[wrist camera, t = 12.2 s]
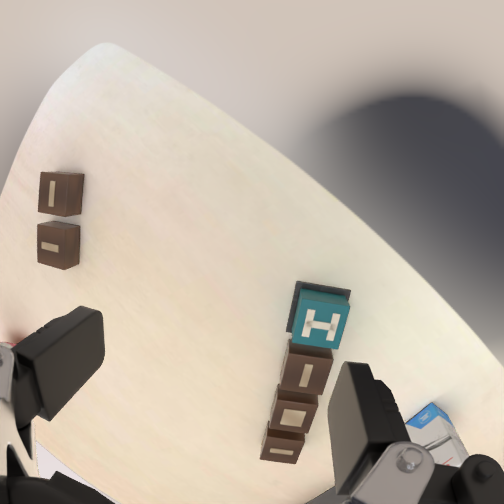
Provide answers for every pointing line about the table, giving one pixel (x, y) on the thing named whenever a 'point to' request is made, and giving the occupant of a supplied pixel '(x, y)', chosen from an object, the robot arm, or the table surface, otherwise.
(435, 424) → the ink box
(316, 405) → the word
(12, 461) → the robot arm
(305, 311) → the teal letter h block
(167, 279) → the table surface
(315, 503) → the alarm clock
